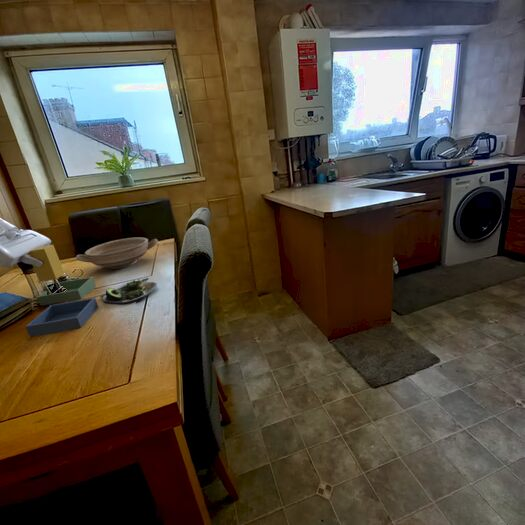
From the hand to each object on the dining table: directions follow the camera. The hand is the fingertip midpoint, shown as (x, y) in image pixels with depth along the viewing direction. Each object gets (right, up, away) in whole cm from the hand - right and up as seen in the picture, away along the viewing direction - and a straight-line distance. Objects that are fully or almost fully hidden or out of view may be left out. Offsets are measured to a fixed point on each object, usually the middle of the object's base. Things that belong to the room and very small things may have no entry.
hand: (48, 261), depth 87 cm
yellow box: (0, -5, +2) cm, 5 cm away
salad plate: (+19, -13, +15) cm, 27 cm away
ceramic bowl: (-3, -1, +54) cm, 54 cm away
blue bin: (+6, -20, +1) cm, 20 cm away
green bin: (-8, -14, +22) cm, 27 cm away
